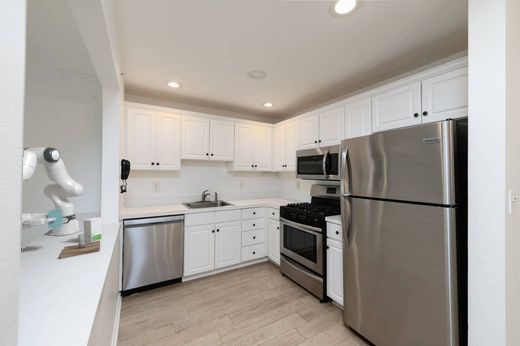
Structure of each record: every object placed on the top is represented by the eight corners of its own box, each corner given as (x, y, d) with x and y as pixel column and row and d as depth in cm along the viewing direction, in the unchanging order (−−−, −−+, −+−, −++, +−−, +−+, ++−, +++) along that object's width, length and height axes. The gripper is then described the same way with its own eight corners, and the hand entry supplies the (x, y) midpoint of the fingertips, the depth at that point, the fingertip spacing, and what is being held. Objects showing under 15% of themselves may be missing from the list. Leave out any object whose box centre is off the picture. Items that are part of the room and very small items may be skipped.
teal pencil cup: (50, 226, 140) (49, 210, 140) (63, 224, 144) (62, 209, 143) (48, 228, 135) (47, 212, 135) (61, 226, 139) (60, 210, 138)
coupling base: (64, 249, 140) (64, 234, 140) (100, 242, 150) (99, 228, 150) (60, 258, 125) (59, 242, 125) (99, 251, 136) (98, 235, 135)
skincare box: (91, 243, 150) (90, 220, 149) (83, 242, 151) (82, 220, 150) (102, 239, 158) (101, 217, 157) (94, 238, 159) (93, 217, 159)
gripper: (20, 219, 123) (54, 215, 131) (30, 212, 140) (60, 209, 148) (21, 230, 123) (54, 226, 131) (31, 222, 140) (60, 219, 148)
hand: (57, 217), depth 140 cm, fingers closed on teal pencil cup, 6 cm apart
